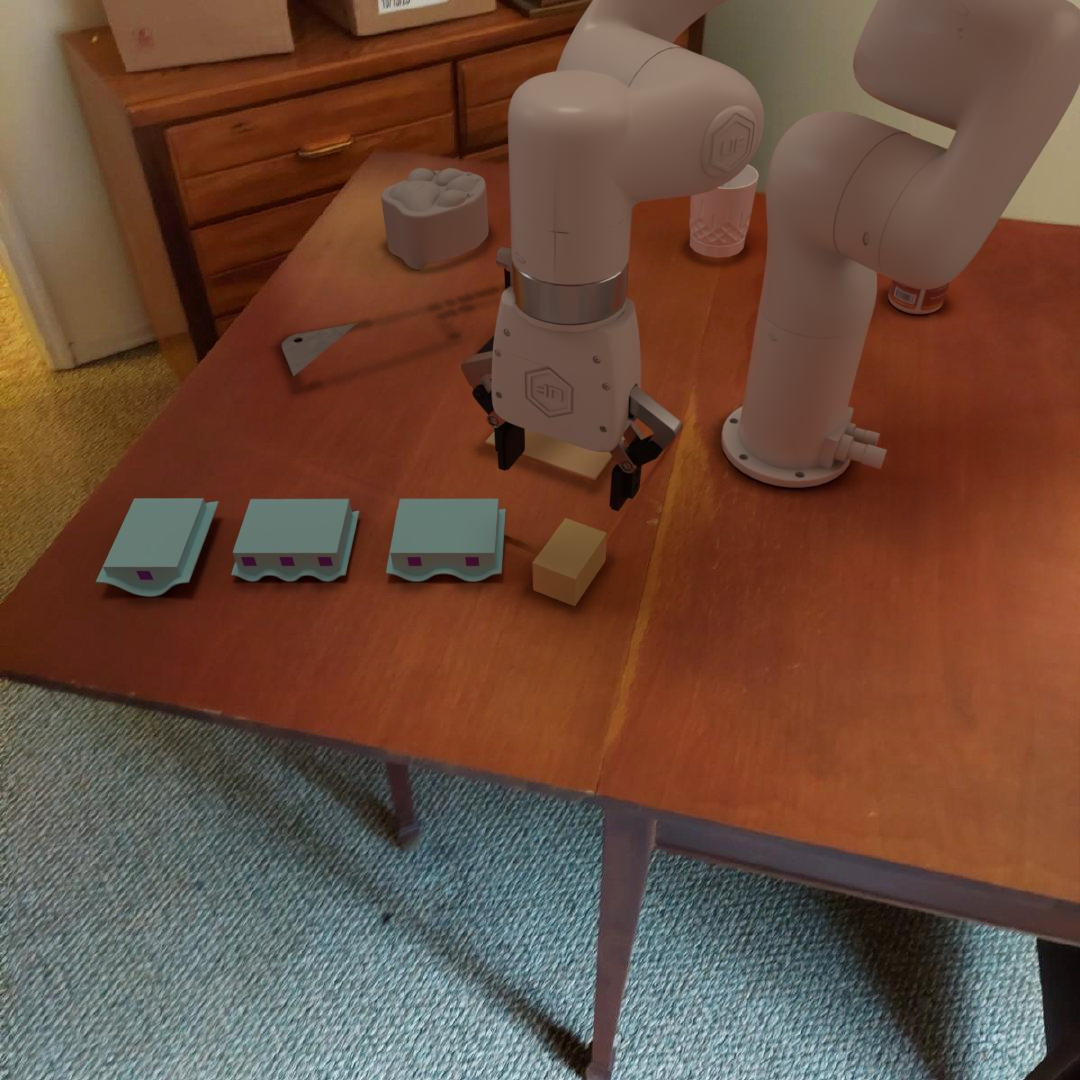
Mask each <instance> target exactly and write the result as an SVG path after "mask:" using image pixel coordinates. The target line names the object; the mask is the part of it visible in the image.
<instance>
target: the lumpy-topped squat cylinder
mask: <svg viewBox="0 0 1080 1080" xmlns="http://www.w3.org/2000/svg"><path fill="white" fill-rule="evenodd" d="M380 199H381V207H382V214H383V222H384V227H385V229H384V230H385V236H386V242H387V249H388V251H389V253H391V254H392V255H394V256H396V257H398V258H400V259H401V260H402V261H403V262H404V263H405V264H406V265H407V266H408V267H409V268H410V269H412V270H416V271H422V270H423V269H425V267H427V266H428V265H431V264H437V263H440V262H445V261H448V260H450V259H453V258H456V257H458V256H461V255H464V254H466V253H469V252H472V251H473V250H475V249H477V248H478V247H479V246H480V245H481V244H482V243H484V241H485V240H486V239H487V237H488V235H489V231H490V227H489V212H488V196H487V183H486V181H485V179H484V177H482V175H479V174H476V173H474V172H473V173H472V172H470V171H462V170H461V169H458V168H454V167H448V168H445V169H443V170H441V171H440V170H438V169H437V170H434V171H432V170H430V169H428V168H425V167H417V168H415V169H413V170H411V171H410V172H409V174H408V175H407V179H403V180H402V181H398V182H396V183H393V184H391V185H389V186H387V187H386V188H384V190H383V191H382V193H381V194H380Z"/></svg>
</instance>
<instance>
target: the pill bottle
mask: <svg viewBox="0 0 1080 1080" xmlns="http://www.w3.org/2000/svg"><path fill="white" fill-rule="evenodd" d="M950 282H951V281H950ZM950 282H949V283H947V284H945V285H943V286H941V287H939V288H935V289H930V290H921V289H915V288H911V287H908V286H906V285H903V284H901V283H898V282H896V281H894V280H892V279H891V281H890V286H889V290H888V294H887V295H888V296H887V297H888V300H889V302H890V304H891V305H892V306H893V307H895V308H896V309H897V310H900V311H902V312H904V313H908V314H912V315H927V314H930V313H934V312H936V311H938V310H939V309H940V308H942V306H943V304H944V301H945V300H946V299H945V298H946V295H947V292H948V289H949V286H950Z"/></svg>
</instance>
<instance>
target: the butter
mask: <svg viewBox="0 0 1080 1080" xmlns="http://www.w3.org/2000/svg"><path fill="white" fill-rule="evenodd" d="M607 539H608V533H607V532H606V531H603V530H600V529H597V528H595V527H592V526H589V525H586V524H584V523H581V522H578V521H575V520H573V519H570V518H567V517H565V518H564V519H563V521H561V523H560V525H559V526H558V527H557V528H556V530H555V531H554V532H553V534H552V535H551V537H550V538H549V539H548V541H547V542H546V543H545V544H544V546H543V547H542V549H541V550H540V551H539V553H538V554H537V555H536V557H535V558H534V560H533V561H532V562H531V564H532V588H533V589H532V590H533V591H534V592H536V593H540V594H542V595H544V596H547V597H549V598H551V599H554V600H557V601H559V602H561V603H564V604H567V605H569V606H572V607H576V606H577V604H578V603H579V601H580V600H581V599H582V597H583V595H584V594H585V593H586V591H587V589H588V588H589V586H590V585H591V583H592V582H593V581H594V579H595V578H596V576H597V574H598V573H599V571H600V570H601V568H602V567H603V566H604V564H605V563H606V559H607V542H608V541H607Z"/></svg>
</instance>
